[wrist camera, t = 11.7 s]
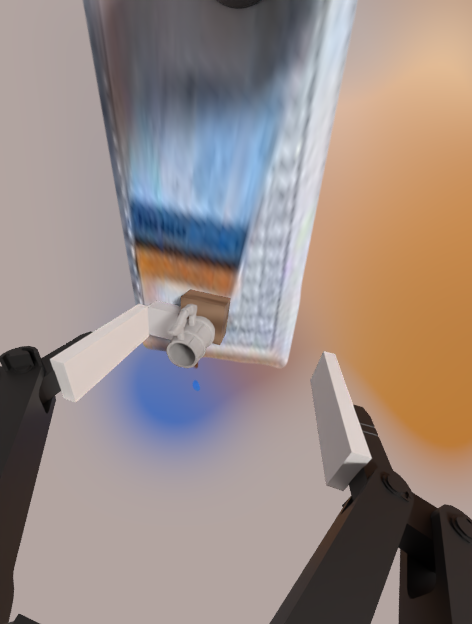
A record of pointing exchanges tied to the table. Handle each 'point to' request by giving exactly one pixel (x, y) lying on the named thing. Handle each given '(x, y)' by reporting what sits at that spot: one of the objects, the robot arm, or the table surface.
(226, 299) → the walnut block
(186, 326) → the mug
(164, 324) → the grey block
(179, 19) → the table surface
